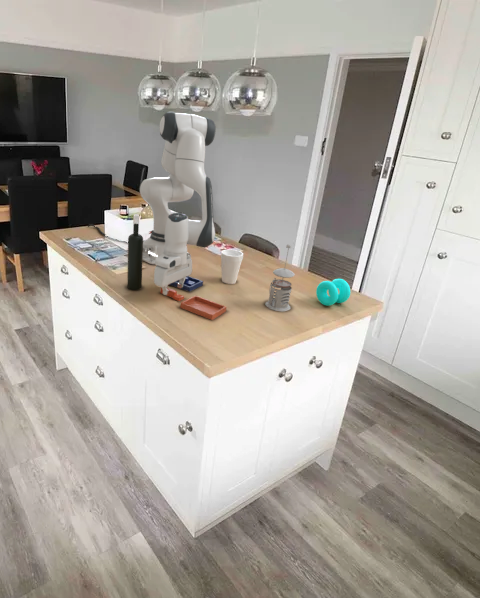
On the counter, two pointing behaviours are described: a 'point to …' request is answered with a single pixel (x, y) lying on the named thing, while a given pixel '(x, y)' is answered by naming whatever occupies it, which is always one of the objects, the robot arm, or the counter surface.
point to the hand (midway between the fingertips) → (173, 290)
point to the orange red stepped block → (173, 294)
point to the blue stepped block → (188, 282)
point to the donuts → (333, 292)
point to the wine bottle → (135, 257)
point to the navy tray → (187, 288)
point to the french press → (283, 294)
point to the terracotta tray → (203, 307)
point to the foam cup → (230, 265)
